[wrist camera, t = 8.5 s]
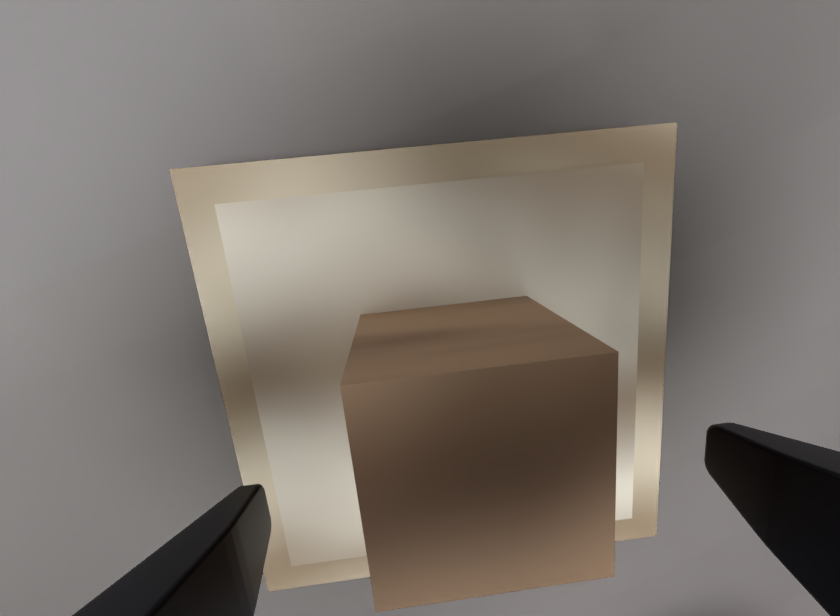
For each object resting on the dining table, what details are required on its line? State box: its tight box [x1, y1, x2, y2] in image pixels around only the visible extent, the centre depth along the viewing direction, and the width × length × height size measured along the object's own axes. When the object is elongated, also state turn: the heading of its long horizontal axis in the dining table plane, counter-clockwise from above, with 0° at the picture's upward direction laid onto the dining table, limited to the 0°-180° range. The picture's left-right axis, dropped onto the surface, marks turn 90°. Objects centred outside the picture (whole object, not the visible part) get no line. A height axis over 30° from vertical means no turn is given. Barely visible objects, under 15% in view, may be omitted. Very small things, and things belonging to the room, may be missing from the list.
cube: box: [340, 296, 619, 612], centre depth 10 cm, size 5×5×5 cm
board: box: [169, 122, 677, 591], centre depth 14 cm, size 14×14×2 cm
